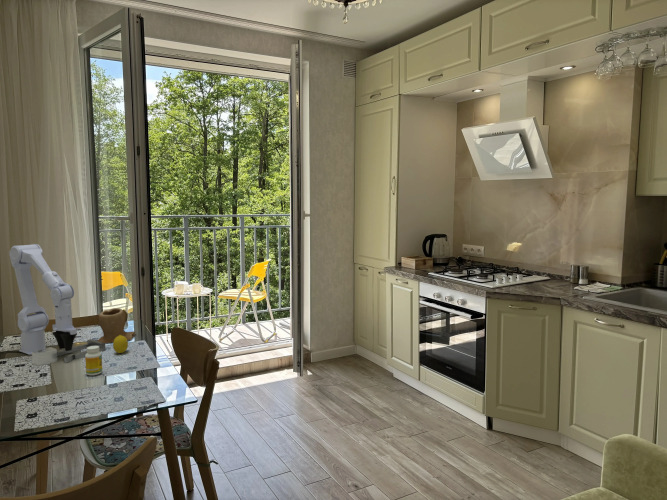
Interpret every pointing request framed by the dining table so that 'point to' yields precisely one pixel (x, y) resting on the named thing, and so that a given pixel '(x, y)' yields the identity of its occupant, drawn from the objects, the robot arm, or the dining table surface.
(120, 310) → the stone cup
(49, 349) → the block
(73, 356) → the socket
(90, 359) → the supplement bottle
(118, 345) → the lemon
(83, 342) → the brass key tag
